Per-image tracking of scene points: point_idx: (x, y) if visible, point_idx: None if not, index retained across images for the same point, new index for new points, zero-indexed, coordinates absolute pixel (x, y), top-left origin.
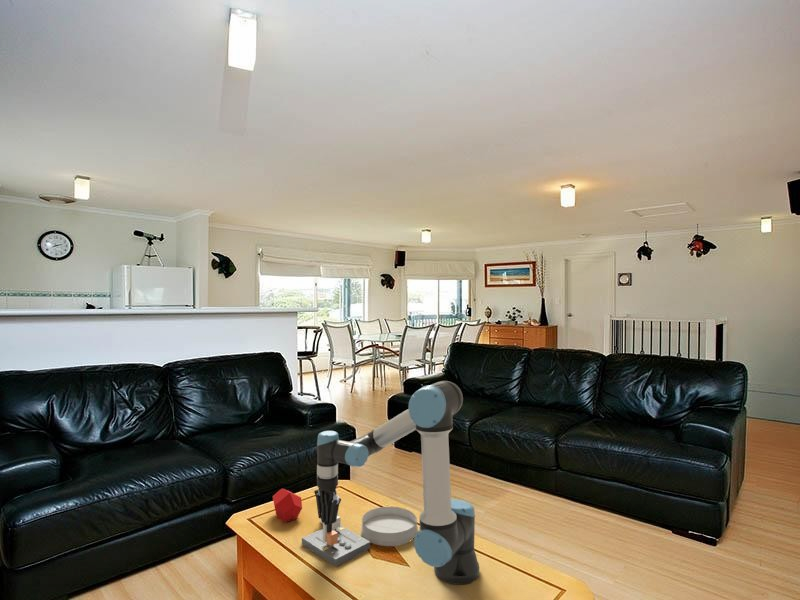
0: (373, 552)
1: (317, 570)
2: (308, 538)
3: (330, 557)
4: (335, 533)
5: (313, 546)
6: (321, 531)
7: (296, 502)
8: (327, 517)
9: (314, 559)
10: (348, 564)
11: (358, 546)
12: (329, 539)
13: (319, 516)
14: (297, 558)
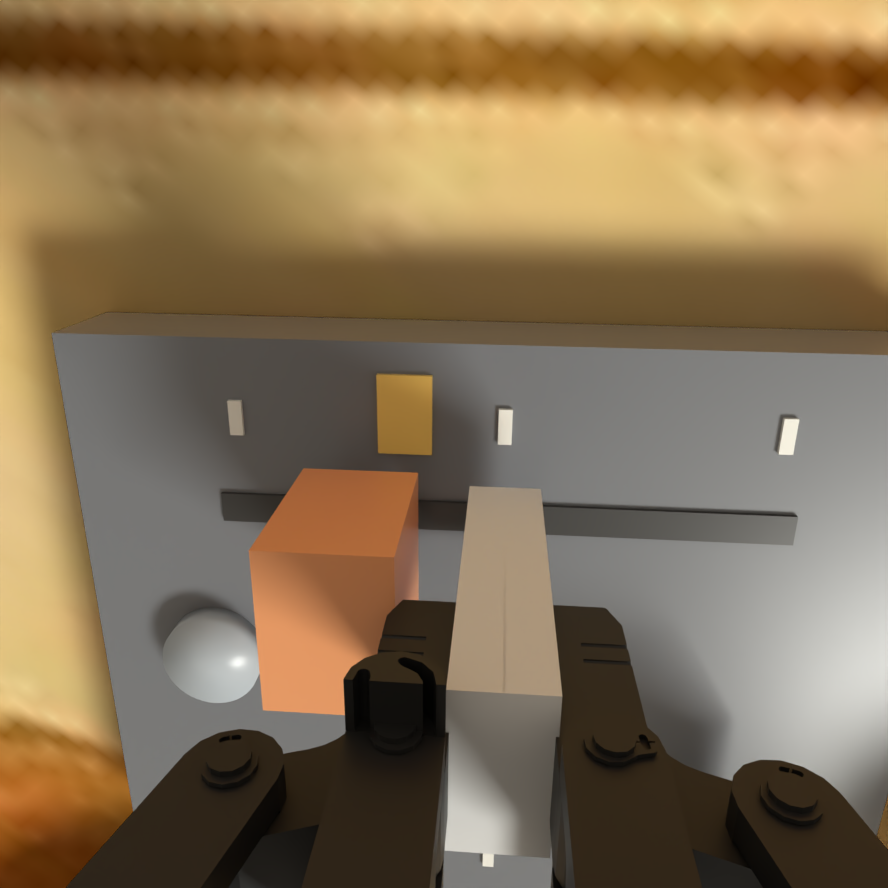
0: (92, 778)
1: (185, 63)
2: (880, 422)
3: (186, 332)
4: (268, 665)
5: (635, 343)
6: (856, 680)
7: None
8: (319, 878)
9: (455, 215)
10: (54, 456)
11: (142, 733)
12: (315, 513)
13: (783, 808)
14: (683, 29)
